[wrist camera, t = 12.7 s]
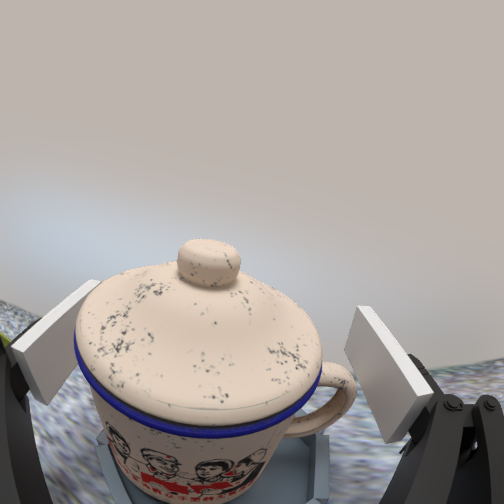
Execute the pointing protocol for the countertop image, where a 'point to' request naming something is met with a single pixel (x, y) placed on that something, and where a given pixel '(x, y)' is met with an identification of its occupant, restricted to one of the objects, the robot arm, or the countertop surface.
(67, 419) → the countertop surface
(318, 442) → the ashtray
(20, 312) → the countertop surface
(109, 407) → the teacup with lid
